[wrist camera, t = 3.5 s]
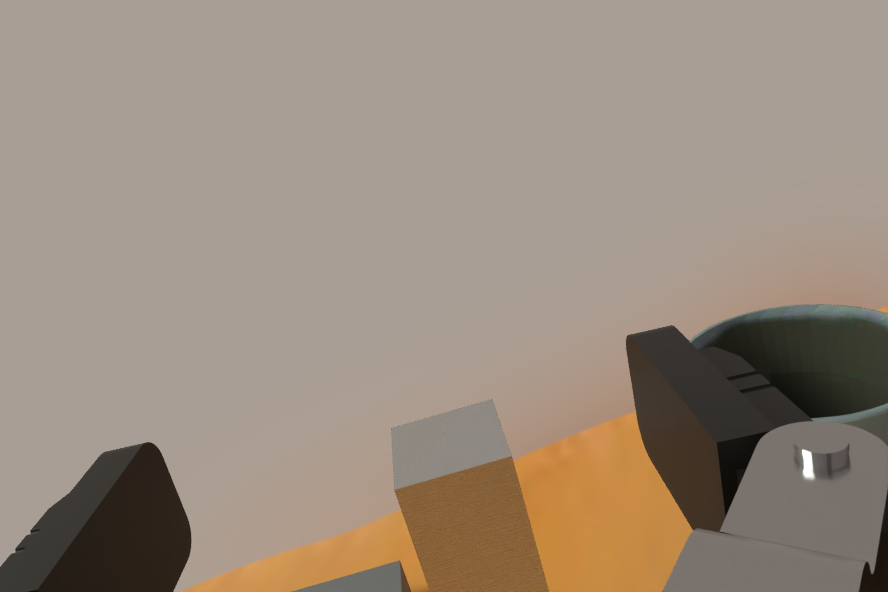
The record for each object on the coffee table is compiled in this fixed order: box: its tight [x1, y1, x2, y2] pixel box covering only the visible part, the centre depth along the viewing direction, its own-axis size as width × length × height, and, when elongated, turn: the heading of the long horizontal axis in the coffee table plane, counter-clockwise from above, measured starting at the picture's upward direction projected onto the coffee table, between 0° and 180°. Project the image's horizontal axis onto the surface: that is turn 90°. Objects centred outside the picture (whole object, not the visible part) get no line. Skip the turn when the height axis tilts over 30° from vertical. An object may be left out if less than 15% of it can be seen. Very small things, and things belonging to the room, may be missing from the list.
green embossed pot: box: [690, 304, 888, 446], centre depth 32 cm, size 10×10×12 cm
